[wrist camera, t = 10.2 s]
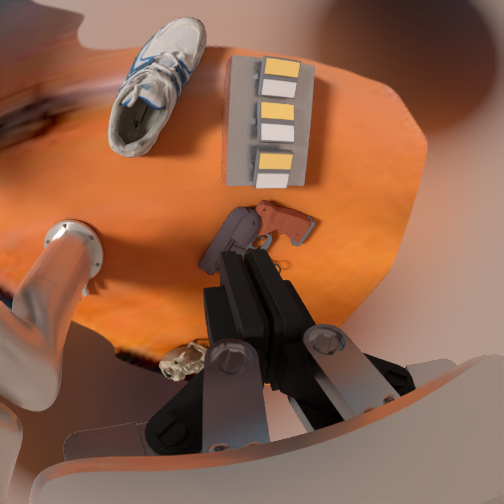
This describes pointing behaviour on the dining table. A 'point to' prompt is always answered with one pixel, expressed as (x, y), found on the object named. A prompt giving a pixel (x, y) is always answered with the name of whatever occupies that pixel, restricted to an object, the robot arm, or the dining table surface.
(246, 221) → the toy gun
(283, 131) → the switch
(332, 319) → the dining table surface
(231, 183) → the switch unit
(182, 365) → the skull
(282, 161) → the switch
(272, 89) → the switch
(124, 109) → the athletic shoe
